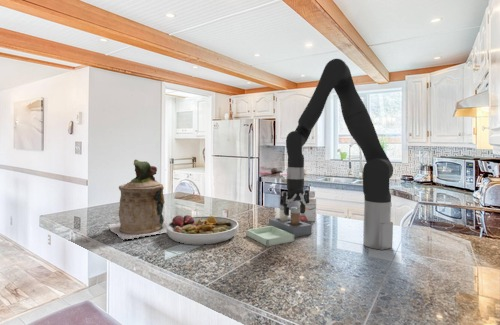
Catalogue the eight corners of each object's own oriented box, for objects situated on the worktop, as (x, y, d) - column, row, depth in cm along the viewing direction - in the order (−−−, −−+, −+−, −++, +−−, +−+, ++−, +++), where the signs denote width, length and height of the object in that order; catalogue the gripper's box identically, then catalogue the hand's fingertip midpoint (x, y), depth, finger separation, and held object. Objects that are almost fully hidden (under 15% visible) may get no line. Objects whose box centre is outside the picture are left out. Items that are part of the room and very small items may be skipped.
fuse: (290, 228, 136) (290, 205, 135) (283, 230, 134) (283, 206, 133) (284, 226, 139) (285, 203, 139) (277, 228, 137) (278, 204, 137)
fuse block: (311, 233, 128) (311, 224, 128) (293, 237, 123) (293, 227, 123) (286, 224, 144) (286, 216, 143) (268, 227, 139) (268, 218, 138)
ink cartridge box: (299, 220, 151) (299, 192, 150) (298, 218, 156) (298, 190, 155) (316, 221, 150) (316, 192, 149) (315, 219, 155) (315, 191, 154)
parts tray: (294, 241, 118) (294, 234, 118) (267, 246, 112) (267, 240, 112) (271, 231, 132) (271, 225, 132) (246, 235, 126) (246, 229, 125)
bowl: (246, 229, 137) (246, 212, 136) (223, 251, 108) (223, 229, 108) (187, 224, 145) (187, 208, 144) (151, 243, 116) (151, 223, 116)
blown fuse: (301, 233, 129) (301, 208, 129) (294, 234, 127) (294, 209, 127) (295, 231, 133) (295, 206, 132) (288, 232, 131) (288, 207, 130)
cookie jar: (122, 242, 117) (120, 161, 115) (106, 229, 136) (104, 159, 134) (180, 231, 132) (179, 159, 131) (158, 220, 151) (157, 158, 150)
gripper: (287, 179, 122) (286, 218, 123) (313, 177, 129) (312, 214, 130) (277, 177, 128) (276, 214, 129) (302, 175, 136) (301, 211, 137)
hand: (294, 214), depth 130 cm, fingers open, 8 cm apart
